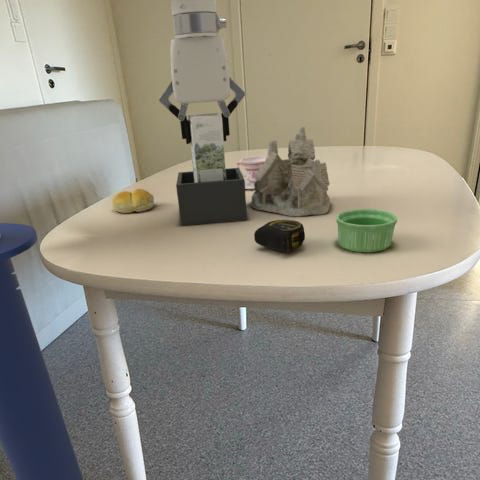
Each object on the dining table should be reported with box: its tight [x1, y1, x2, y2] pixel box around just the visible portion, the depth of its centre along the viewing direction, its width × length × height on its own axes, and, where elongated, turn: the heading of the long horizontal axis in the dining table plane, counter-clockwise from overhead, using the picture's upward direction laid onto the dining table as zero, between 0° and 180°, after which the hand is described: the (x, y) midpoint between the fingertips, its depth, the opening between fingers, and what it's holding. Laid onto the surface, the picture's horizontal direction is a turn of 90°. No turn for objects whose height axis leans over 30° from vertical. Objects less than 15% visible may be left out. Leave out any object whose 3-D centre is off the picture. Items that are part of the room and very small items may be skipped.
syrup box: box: [187, 112, 226, 183], centre depth 85 cm, size 6×6×14 cm
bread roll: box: [111, 188, 155, 214], centre depth 98 cm, size 8×9×4 cm
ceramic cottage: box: [250, 126, 331, 217], centre depth 89 cm, size 16×16×15 cm
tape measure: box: [253, 219, 306, 253], centre depth 70 cm, size 7×7×4 cm
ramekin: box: [335, 208, 398, 253], centre depth 69 cm, size 9×9×4 cm
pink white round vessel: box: [236, 155, 268, 190], centre depth 111 cm, size 12×12×6 cm
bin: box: [175, 167, 248, 226], centre depth 89 cm, size 13×13×8 cm
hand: (206, 140), depth 84 cm, fingers closed on syrup box, 6 cm apart
